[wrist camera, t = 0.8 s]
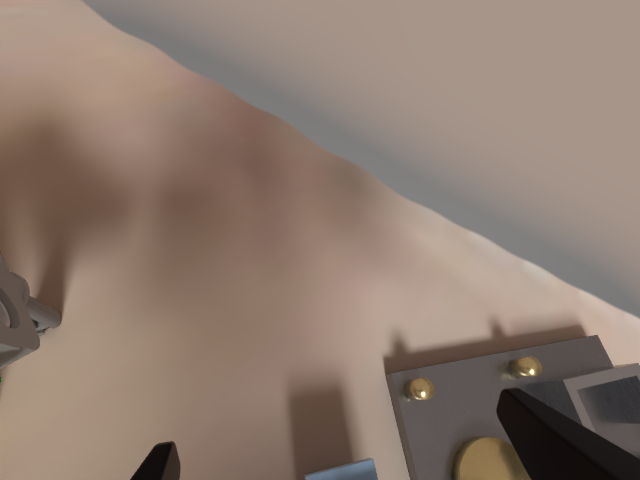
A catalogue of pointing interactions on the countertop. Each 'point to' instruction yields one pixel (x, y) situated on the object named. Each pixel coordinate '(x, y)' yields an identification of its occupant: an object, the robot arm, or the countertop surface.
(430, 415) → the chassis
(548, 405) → the robot arm
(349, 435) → the countertop surface
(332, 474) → the servo
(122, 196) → the countertop surface
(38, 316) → the mechanical component
